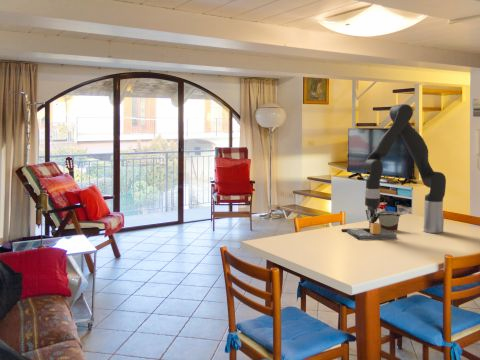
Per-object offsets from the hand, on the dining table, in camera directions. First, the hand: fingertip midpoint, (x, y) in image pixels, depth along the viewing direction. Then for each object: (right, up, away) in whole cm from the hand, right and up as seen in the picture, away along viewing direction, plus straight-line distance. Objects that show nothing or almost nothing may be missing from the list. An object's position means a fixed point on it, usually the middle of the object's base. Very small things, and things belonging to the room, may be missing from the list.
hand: (371, 229), depth 251 cm
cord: (-10, -4, -1) cm, 11 cm away
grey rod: (-8, -2, +11) cm, 14 cm away
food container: (+13, -2, +15) cm, 20 cm away
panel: (0, -3, +1) cm, 4 cm away
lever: (0, -4, -4) cm, 6 cm away
